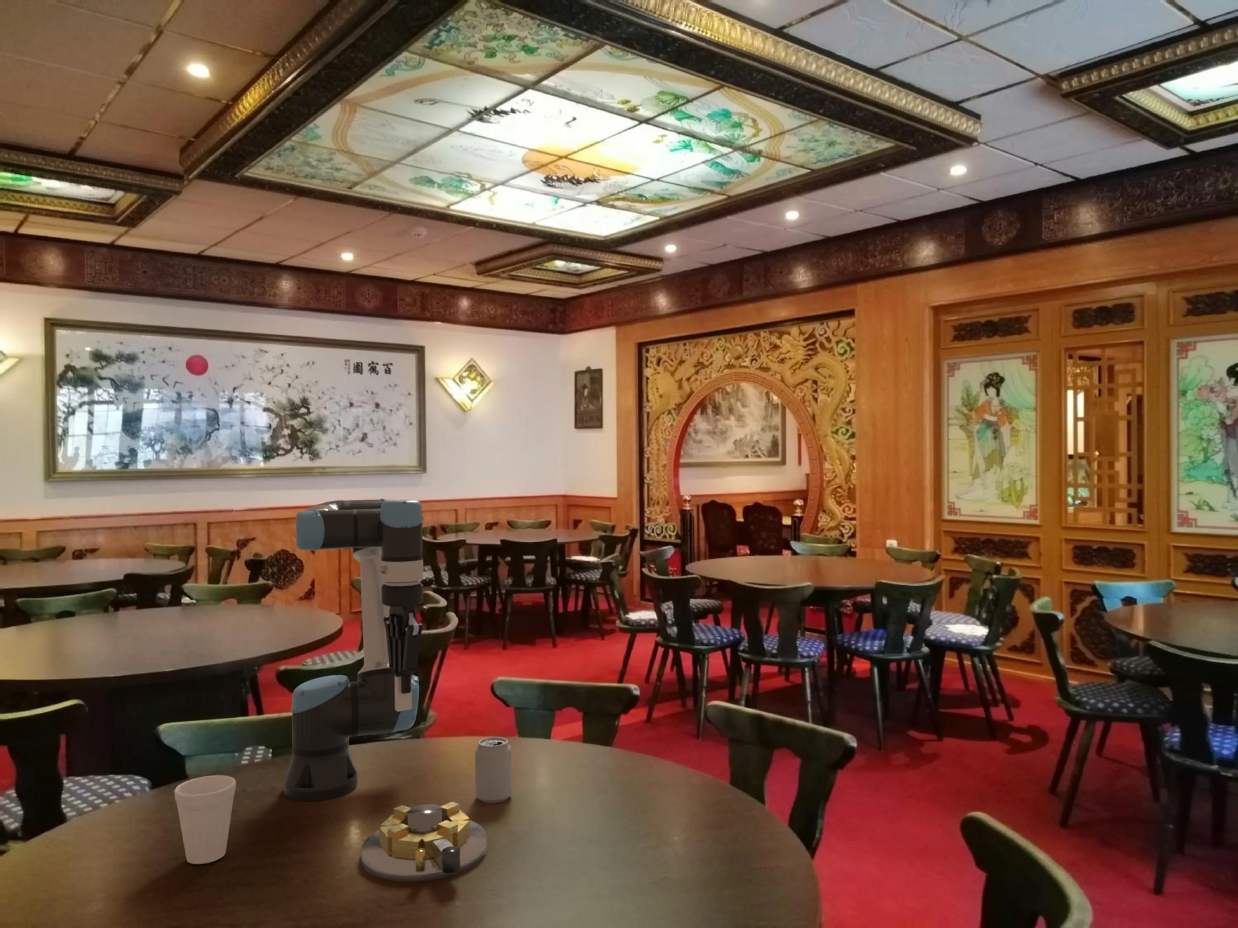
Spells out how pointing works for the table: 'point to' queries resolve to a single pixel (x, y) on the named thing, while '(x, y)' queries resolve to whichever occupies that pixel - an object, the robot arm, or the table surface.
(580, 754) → the table surface
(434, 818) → the cap base
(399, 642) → the robot arm
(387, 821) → the ring nut
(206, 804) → the cup
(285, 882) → the table surface
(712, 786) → the table surface
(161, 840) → the table surface
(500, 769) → the can
